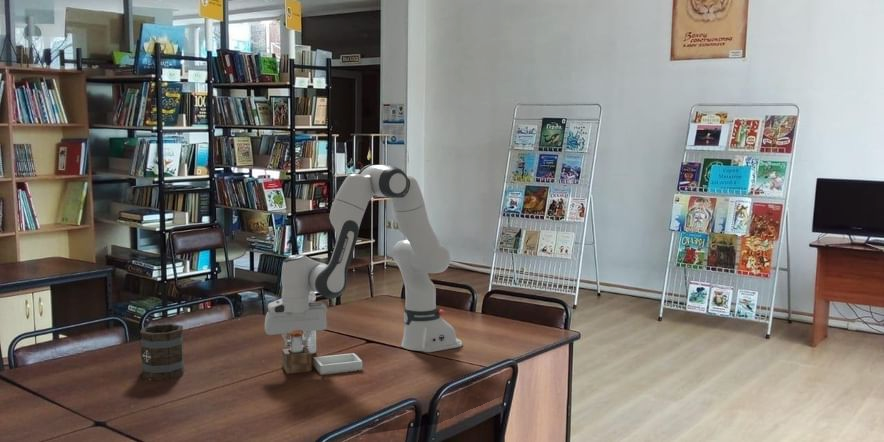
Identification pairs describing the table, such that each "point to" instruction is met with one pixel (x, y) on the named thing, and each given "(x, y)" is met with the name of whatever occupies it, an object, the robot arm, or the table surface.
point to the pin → (296, 342)
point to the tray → (337, 363)
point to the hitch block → (296, 361)
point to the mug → (162, 351)
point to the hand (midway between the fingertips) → (296, 345)
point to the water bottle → (312, 339)
